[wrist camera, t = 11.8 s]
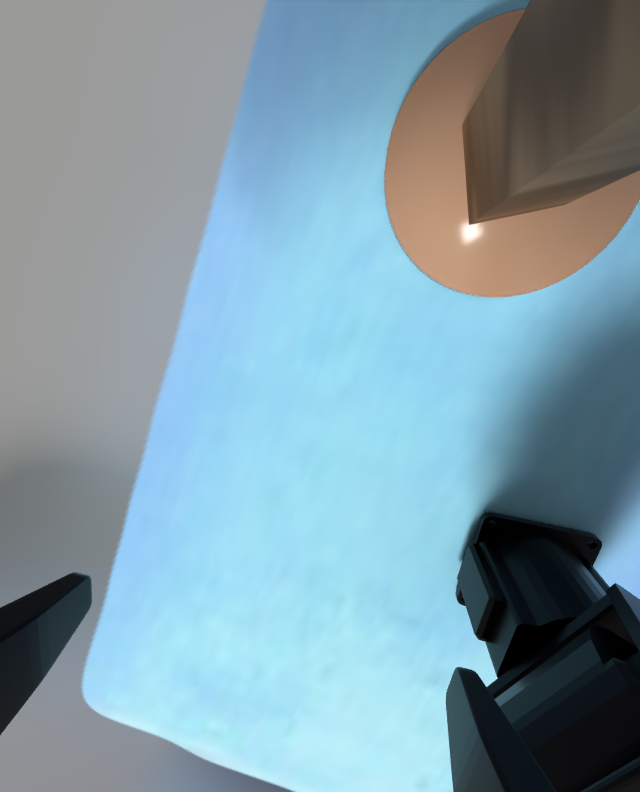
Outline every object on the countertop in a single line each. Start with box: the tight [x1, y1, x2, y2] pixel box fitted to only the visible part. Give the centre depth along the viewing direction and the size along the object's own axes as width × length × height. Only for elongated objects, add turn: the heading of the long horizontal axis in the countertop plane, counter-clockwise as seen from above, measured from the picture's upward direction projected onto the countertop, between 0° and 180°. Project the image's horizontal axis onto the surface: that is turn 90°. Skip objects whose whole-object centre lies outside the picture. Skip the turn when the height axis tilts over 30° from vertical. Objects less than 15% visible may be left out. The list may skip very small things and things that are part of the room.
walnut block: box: [462, 0, 640, 225], centre depth 10 cm, size 4×4×11 cm
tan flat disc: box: [384, 8, 640, 297], centre depth 16 cm, size 11×11×1 cm
